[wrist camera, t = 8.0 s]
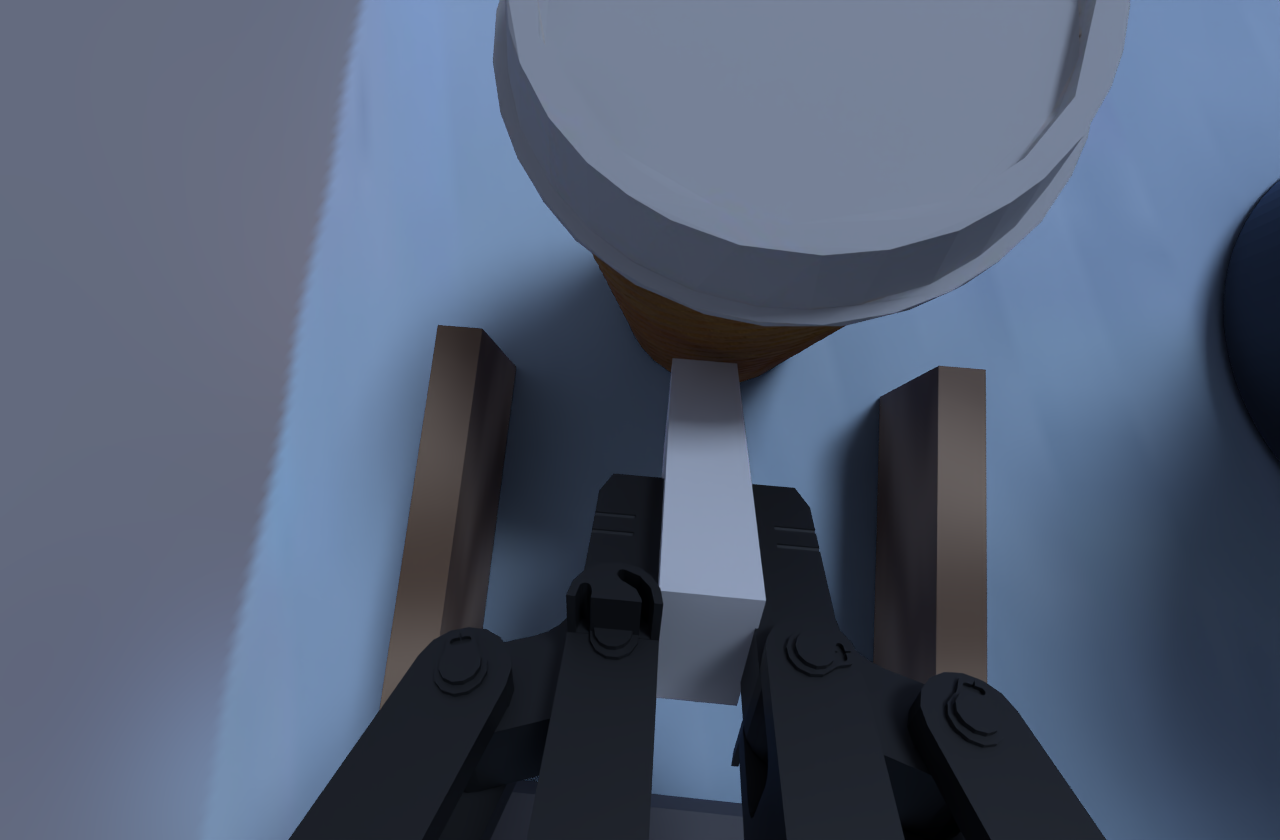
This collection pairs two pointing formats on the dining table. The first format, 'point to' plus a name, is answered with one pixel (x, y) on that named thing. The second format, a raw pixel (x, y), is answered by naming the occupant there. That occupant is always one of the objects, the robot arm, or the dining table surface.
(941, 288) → the disposable coffee cup
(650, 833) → the pad
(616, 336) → the dining table surface
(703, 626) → the robot arm
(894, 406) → the walnut channel
